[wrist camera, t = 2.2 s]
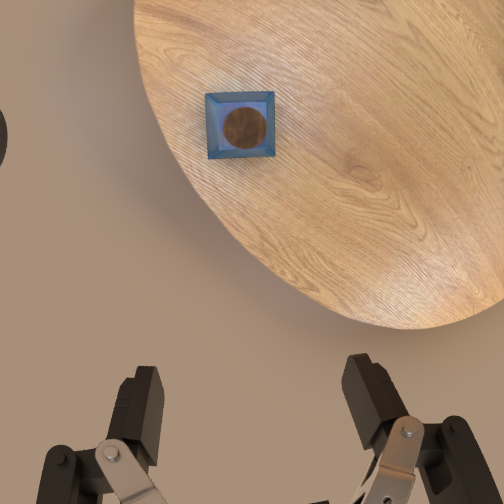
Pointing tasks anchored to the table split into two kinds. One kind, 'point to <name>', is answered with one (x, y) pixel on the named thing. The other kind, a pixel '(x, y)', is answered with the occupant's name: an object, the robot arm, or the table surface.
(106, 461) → the robot arm
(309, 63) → the table surface
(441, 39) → the table surface
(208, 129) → the perfume bottle
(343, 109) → the table surface
